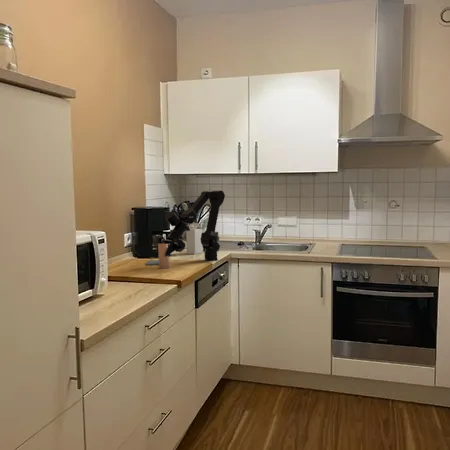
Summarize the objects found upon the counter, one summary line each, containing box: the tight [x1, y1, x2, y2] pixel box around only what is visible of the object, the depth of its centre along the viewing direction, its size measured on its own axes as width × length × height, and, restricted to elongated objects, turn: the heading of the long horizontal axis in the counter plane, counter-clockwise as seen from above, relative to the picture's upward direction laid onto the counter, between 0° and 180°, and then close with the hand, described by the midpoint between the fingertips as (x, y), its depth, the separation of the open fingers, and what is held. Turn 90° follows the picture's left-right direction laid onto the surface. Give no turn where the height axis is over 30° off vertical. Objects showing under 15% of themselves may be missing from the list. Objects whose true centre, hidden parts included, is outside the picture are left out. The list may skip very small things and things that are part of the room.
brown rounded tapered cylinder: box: [157, 243, 170, 270], centre depth 238 cm, size 5×5×12 cm
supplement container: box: [203, 231, 220, 252], centre depth 300 cm, size 10×10×12 cm
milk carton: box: [185, 222, 204, 255], centre depth 288 cm, size 7×7×19 cm
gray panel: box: [145, 259, 159, 266], centre depth 254 cm, size 11×11×1 cm
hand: (161, 255), depth 237 cm, fingers open, 7 cm apart
